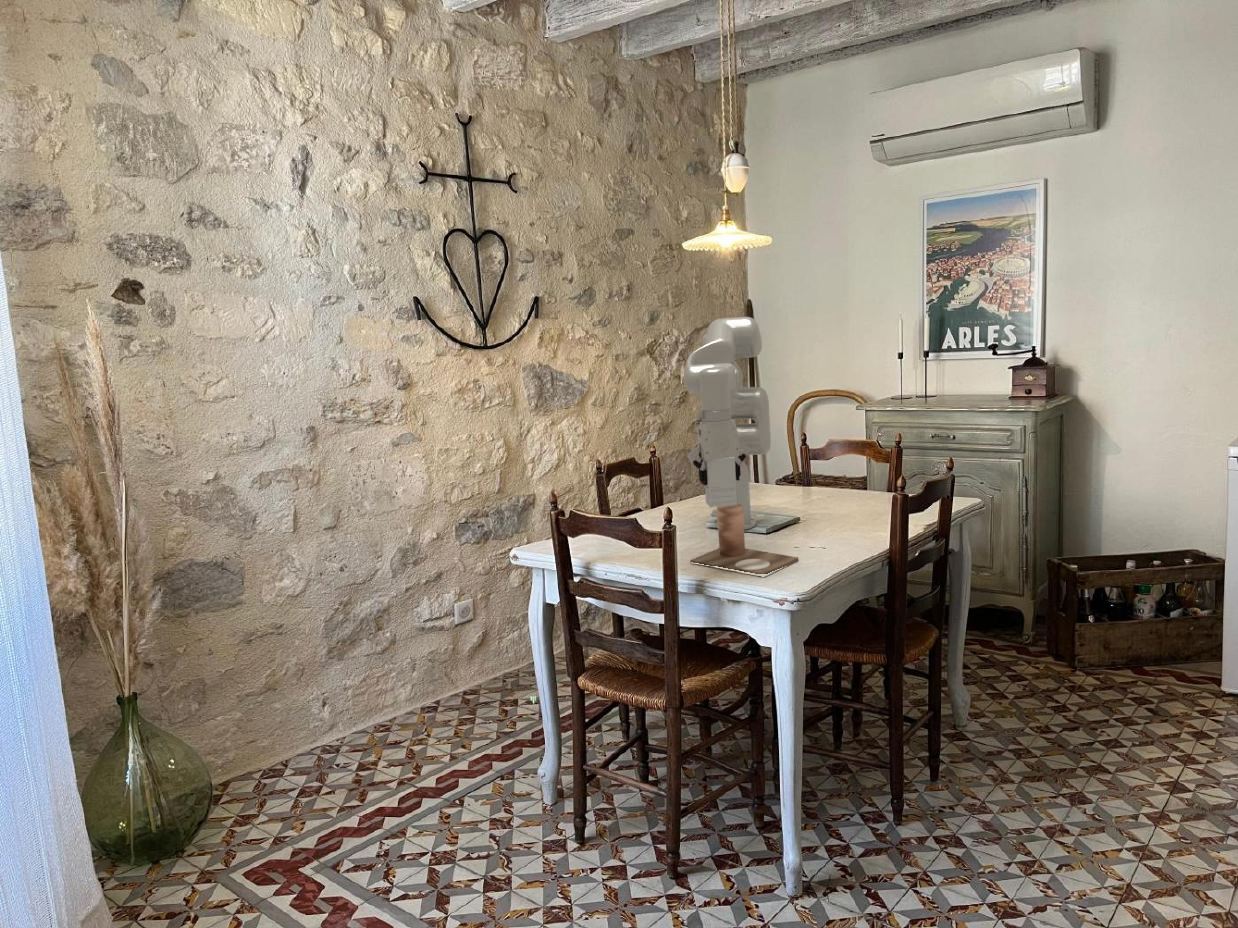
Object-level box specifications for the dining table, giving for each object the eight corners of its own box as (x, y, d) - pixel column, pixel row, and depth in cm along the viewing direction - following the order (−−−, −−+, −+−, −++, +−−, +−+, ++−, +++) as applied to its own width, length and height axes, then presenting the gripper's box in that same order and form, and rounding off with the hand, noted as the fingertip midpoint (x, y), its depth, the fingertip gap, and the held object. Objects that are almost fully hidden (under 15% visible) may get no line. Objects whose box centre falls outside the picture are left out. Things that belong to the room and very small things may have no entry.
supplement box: (733, 500, 249) (731, 453, 247) (737, 505, 241) (735, 457, 239) (705, 502, 248) (703, 455, 247) (708, 507, 241) (706, 459, 239)
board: (690, 563, 256) (687, 513, 253) (726, 548, 267) (723, 500, 264) (763, 577, 239) (761, 524, 237) (798, 560, 250) (796, 510, 248)
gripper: (689, 421, 235) (694, 489, 238) (753, 413, 239) (757, 480, 243) (679, 418, 242) (683, 483, 245) (741, 410, 246) (745, 474, 250)
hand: (720, 481), depth 244 cm, fingers closed on supplement box, 8 cm apart
